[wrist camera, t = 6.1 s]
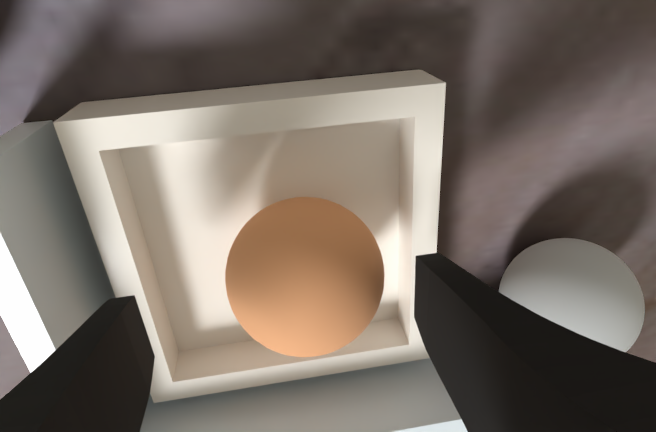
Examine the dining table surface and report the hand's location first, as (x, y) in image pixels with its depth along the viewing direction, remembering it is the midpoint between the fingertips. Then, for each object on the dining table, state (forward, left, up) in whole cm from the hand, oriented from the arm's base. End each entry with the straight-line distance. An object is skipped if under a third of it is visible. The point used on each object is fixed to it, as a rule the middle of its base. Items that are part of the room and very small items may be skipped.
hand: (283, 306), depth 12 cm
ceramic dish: (0, 0, -4) cm, 4 cm away
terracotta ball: (0, 0, -3) cm, 3 cm away
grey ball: (-3, -10, -4) cm, 11 cm away
